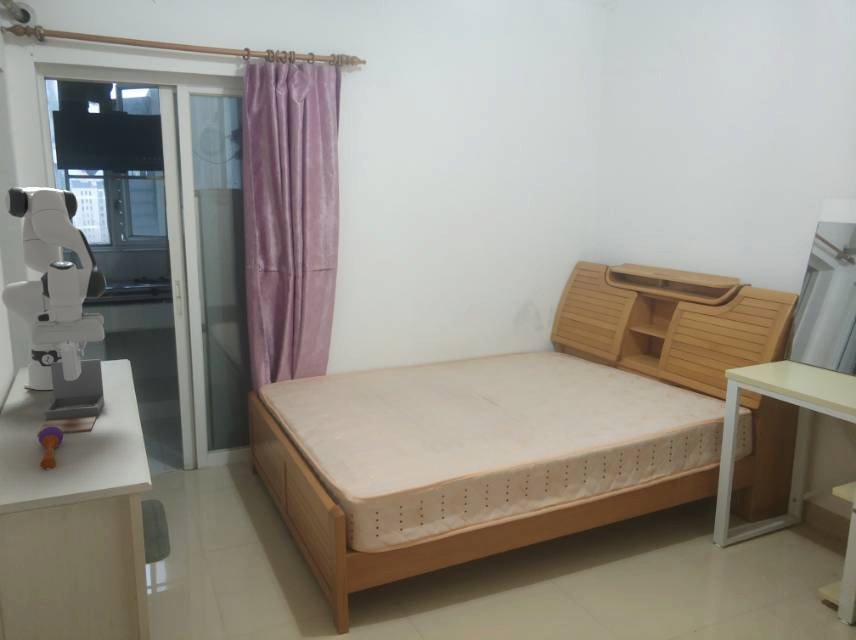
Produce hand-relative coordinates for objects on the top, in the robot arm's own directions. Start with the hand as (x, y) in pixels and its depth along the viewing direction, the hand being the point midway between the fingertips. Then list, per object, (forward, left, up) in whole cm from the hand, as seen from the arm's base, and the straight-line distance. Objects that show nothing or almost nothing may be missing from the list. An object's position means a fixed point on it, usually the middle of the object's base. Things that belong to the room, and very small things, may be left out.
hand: (70, 356), depth 206 cm
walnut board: (+15, 0, -18) cm, 24 cm away
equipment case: (0, 0, -18) cm, 18 cm away
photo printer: (0, 0, -7) cm, 7 cm away
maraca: (+39, 0, -19) cm, 43 cm away
